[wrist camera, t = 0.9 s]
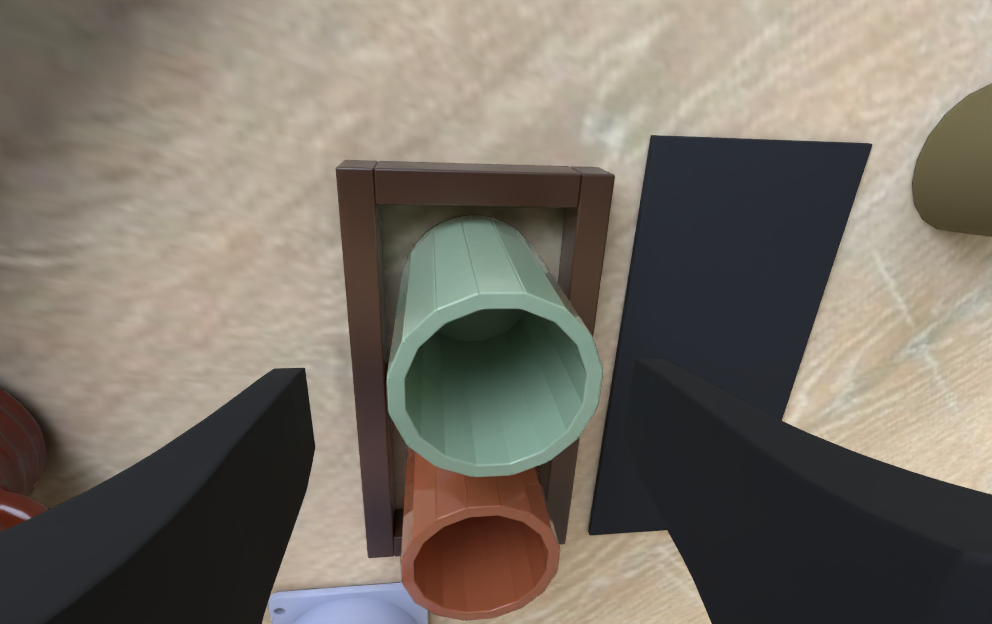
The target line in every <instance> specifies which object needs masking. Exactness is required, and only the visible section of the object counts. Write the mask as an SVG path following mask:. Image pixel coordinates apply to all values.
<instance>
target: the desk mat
mask: <svg viewBox="0 0 992 624" xmlns="http://www.w3.org/2000/svg"><path fill="white" fill-rule="evenodd" d="M871 148H872V144H869V143H846V142H819V141H792V140H765V139H738V138H711V137H684V136H657V135H651V138H650V145H649V151H648V157H647V164H646V170H645V176H644V183H643V189H642V195H641V201H640V208H639V214H638V220H637V227H636V233H635V239H634V246H633V252H632V258H631V265H630V271H629V277H628V284H627V290H626V296H625V302H624V309H623V315H622V321H621V328H620V334H619V340H618V347H617V353H616V359H615V366H614V372H613V378H612V384H611V391H610V397H609V403H608V410H607V416H606V422H605V429H604V435H603V441H602V448H601V454H600V460H599V467H598V473H597V479H596V485H595V492H594V498H593V504H592V511H591V517H590V523H589V530H588V532H589V535H602V534H617V533H631V532H646V531H660V530H667V528H666V527H665V525H664V523H663V521H662V519H661V517H660V516H659V514H658V512H657V510H656V508H655V506H654V505H653V503H652V501H651V499H650V497H649V495H648V493H647V492H646V490H645V488H644V486H643V484H642V482H641V480H640V478H639V476H638V474H637V472H636V470H635V467H634V465H633V462H632V460H631V457H630V455H629V452H628V449H627V446H626V443H625V440H624V437H623V435H622V431H623V426H624V420H625V414H626V408H627V402H628V397H629V391H630V385H631V379H632V374H633V368H634V362H635V359H662V360H665V361H667V362H670V363H672V364H674V365H676V366H678V367H680V368H682V369H684V370H686V371H688V372H690V373H691V374H693V375H695V376H697V377H699V378H701V379H703V380H704V381H706V382H708V383H710V384H712V385H714V386H715V387H717V388H719V389H721V390H723V391H725V392H726V393H728V394H730V395H732V396H734V397H736V398H738V399H739V400H741V401H743V402H745V403H747V404H749V405H751V406H753V407H755V408H757V409H759V410H761V411H763V412H765V413H767V414H769V415H771V416H773V417H775V418H777V419H779V420H781V421H782V418H783V415H784V412H785V409H786V406H787V403H788V400H789V397H790V394H791V391H792V388H793V385H794V382H795V379H796V375H797V372H798V369H799V366H800V363H801V360H802V357H803V354H804V351H805V348H806V345H807V342H808V339H809V336H810V333H811V330H812V327H813V324H814V321H815V318H816V315H817V312H818V309H819V306H820V303H821V299H822V296H823V293H824V290H825V287H826V284H827V281H828V278H829V275H830V272H831V269H832V266H833V263H834V260H835V257H836V254H837V251H838V248H839V245H840V242H841V239H842V236H843V233H844V230H845V227H846V224H847V220H848V217H849V214H850V211H851V208H852V205H853V202H854V199H855V196H856V193H857V190H858V187H859V184H860V181H861V178H862V175H863V172H864V169H865V166H866V163H867V160H868V157H869V154H870V151H871Z"/></svg>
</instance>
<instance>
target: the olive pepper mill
mask: <svg viewBox="0 0 992 624" xmlns="http://www.w3.org/2000/svg"><path fill="white" fill-rule="evenodd" d="M912 185H913V196H914V204H915V206H916V208H917V210H918V212H919V213H920V215H921V217H922V219H923V220H925V221H926V222H927V223H929V224H930V225H932V226H933V227H934V228H936V229H941V230H946V231H952V232H959V233H966V234H974V235H981V236H989V237H992V84H990V85H988V86H986V87H984V88H982V89H980V90H978V91H976V92H974V93H972V94H969V95H968V96H967V97H966V98H964V99H963V100H962V101H961V102H959V103H958V104H957V105H956V106H955V107H953V108H952V109H951V110H950V111H949V112H947V113H946V115H945V116H944V117H943V118H942V120H941V121H940V122H939V124H938V125H937V126H936V127H935V129H934V130H933V131H932V132H931V134H930V135H929V137H928V139H927V141H926V143H925V145H924V147H923V149H922V151H921V153H920V155H919V157H918V159H917V164H916V168H915V173H914V178H913V182H912Z"/></svg>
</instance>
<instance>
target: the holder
mask: <svg viewBox="0 0 992 624" xmlns="http://www.w3.org/2000/svg"><path fill="white" fill-rule="evenodd" d="M336 178H337V190H338V202H339V214H340V226H341V238H342V250H343V262H344V274H345V286H346V298H347V310H348V322H349V334H350V346H351V359H352V371H353V383H354V395H355V407H356V419H357V431H358V443H359V455H360V467H361V479H362V491H363V503H364V515H365V527H366V539H367V551H368V558H377V557H391V556H394V555H395V556H401V547H402V531H403V514H404V508H401V509H396V510H395V490H394V469H393V449H392V429H391V417H390V415H389V412H388V396H387V372H388V365H389V363H388V349H387V329H386V308H385V288H384V268H383V248H382V228H381V208H380V205H432V206H490V207H547V208H566V209H565V219H564V229H563V239H562V249H561V259H560V270H559V280H558V285H559V286H560V288H561V289H562V291H563V292H564V294H565V295H566V297H567V298H568V300H569V301H570V303H571V305H572V306H573V308H574V309H575V311H576V312H577V314H578V315H579V317H580V318H581V320H582V321H583V323H584V324H585V326H586V327H587V329H588V330H589V332H590V333H591V335H592V337H593V334H594V327H595V319H596V312H597V304H598V297H599V290H600V282H601V275H602V267H603V260H604V253H605V245H606V238H607V230H608V223H609V216H610V208H611V201H612V193H613V186H614V179H615V176H614V174H611V173H609V172H607V171H605V170H603V169H601V168H599V167H568V166H535V165H500V164H464V163H429V162H393V161H380V162H377V161H358V160H345V161H343V162H342V163H341V164H340V165H339V166H338V167H336ZM578 445H579V437H578V439H577V440H576V441H574V442H573V443H572V444H571V445H569V446H568V447H567V448H566V449H564V450H563V451H562V452H561V453H559V454H558V455H557V456H556V457H554V458H553V459H552V460H550V461H548V462H547V463H544V464H542V465H540V471H539V476H540V479H541V483H542V486H543V490H544V493H545V497H546V500H547V504H548V507H549V511H550V515H551V518H552V522H553V525H554V529H555V532H556V536H557V539H558V543H559V544H565V541H566V534H567V526H568V519H569V511H570V504H571V497H572V489H573V482H574V474H575V467H576V460H577V452H578Z"/></svg>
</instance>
